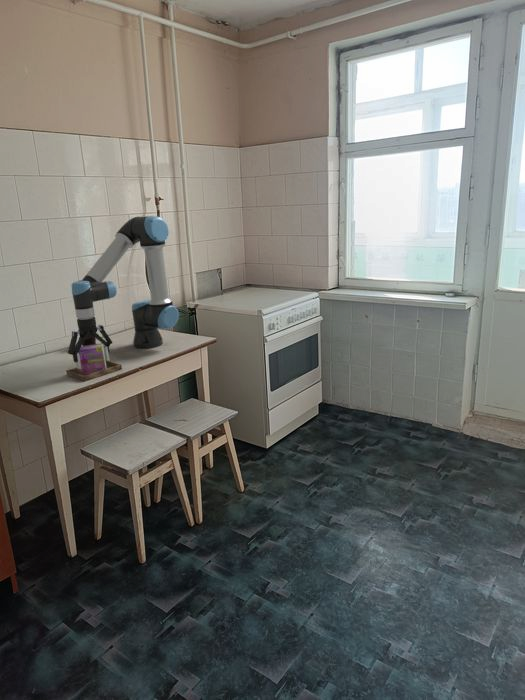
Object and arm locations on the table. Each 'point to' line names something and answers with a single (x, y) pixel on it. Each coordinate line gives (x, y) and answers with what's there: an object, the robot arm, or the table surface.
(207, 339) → the table surface
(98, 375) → the tray
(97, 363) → the box
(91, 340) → the coffee mug
